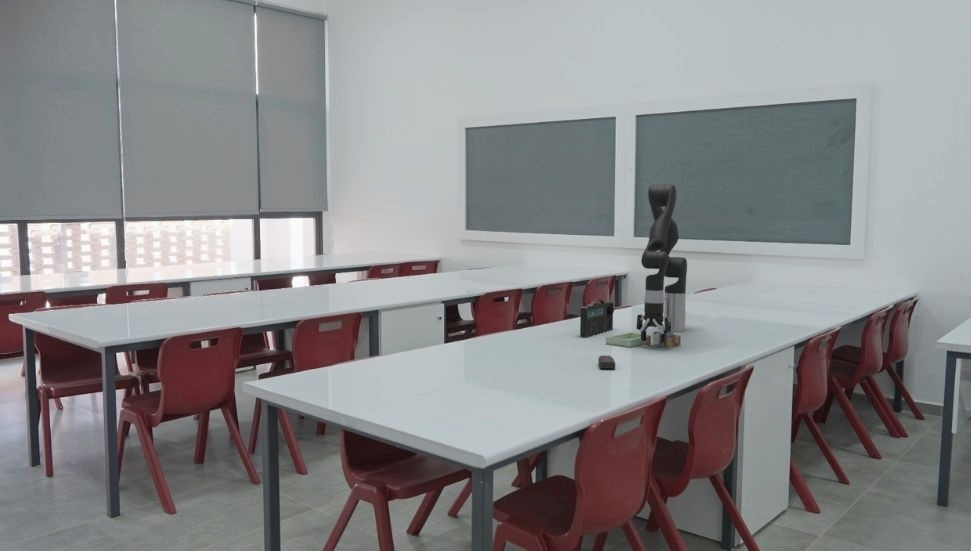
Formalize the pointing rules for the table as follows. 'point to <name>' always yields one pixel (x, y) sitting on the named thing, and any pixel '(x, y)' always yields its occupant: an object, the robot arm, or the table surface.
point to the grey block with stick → (659, 338)
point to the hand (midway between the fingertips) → (653, 341)
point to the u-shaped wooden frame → (668, 341)
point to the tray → (626, 340)
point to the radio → (596, 318)
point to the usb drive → (606, 362)
